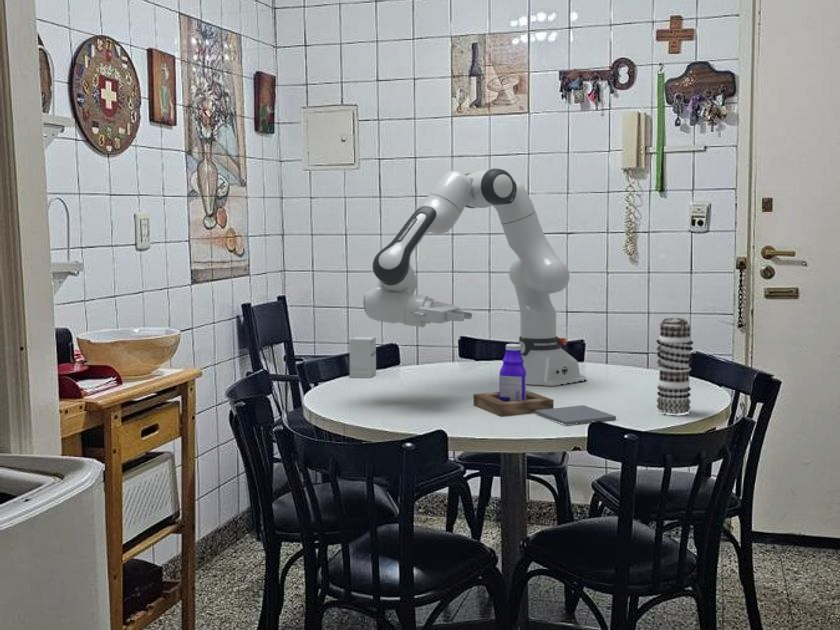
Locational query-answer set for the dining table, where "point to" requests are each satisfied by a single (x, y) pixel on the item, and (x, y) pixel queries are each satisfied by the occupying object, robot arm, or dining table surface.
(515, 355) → the bottle
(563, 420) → the slate mat
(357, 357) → the supplement box
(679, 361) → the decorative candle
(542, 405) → the wooden square tray
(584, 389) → the dining table surface
